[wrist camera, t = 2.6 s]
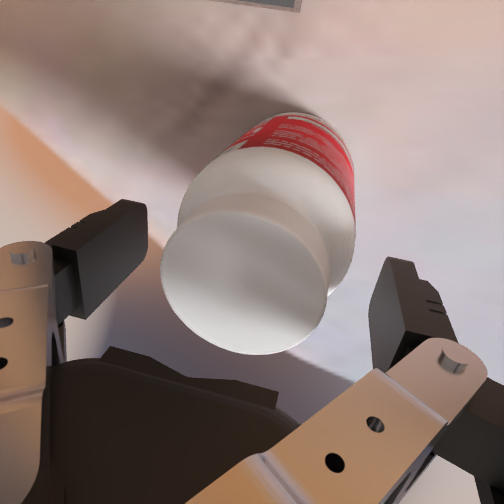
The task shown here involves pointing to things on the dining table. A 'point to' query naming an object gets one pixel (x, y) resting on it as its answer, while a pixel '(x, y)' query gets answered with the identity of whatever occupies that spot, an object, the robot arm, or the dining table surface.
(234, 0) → the block
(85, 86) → the dining table surface
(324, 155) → the pill bottle
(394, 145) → the dining table surface
